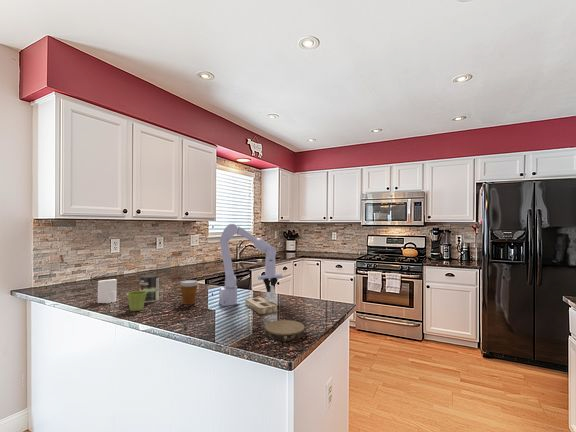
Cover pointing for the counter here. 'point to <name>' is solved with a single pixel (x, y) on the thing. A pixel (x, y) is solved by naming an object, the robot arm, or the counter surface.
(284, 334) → the round tan disc
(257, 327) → the counter surface
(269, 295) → the steel bracket tab
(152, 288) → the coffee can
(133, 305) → the plant pot
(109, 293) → the white rectangular block
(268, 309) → the slotted wooden frame
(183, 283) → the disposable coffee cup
